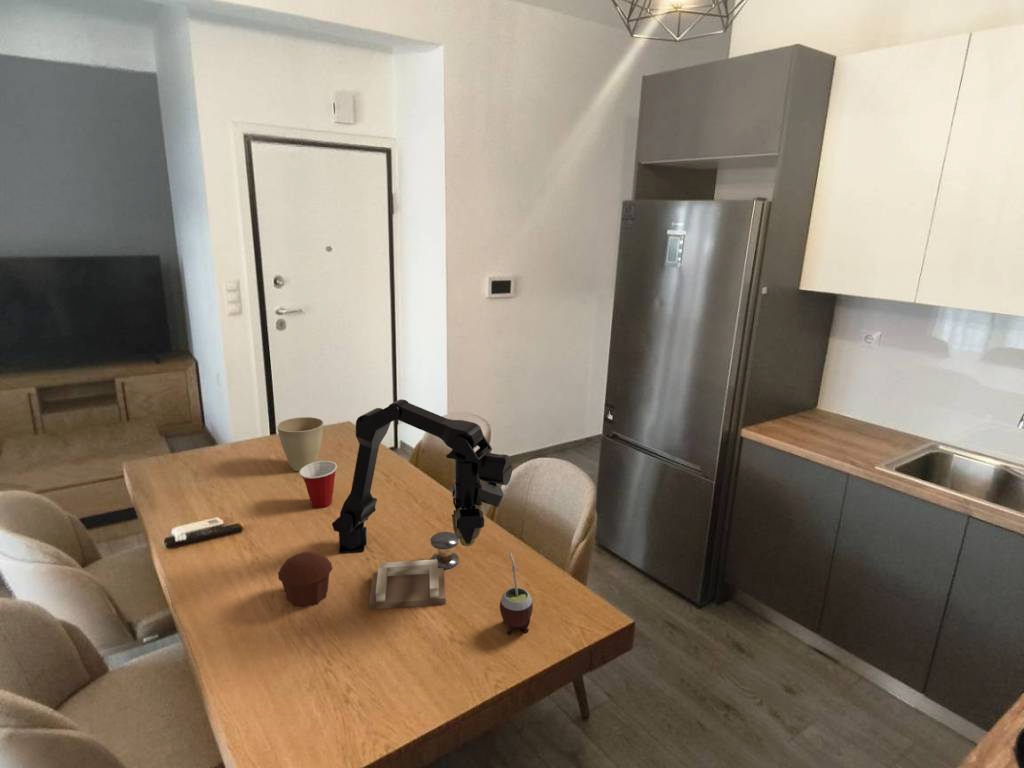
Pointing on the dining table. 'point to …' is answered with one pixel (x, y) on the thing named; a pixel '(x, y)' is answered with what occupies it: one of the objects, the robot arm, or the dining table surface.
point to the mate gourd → (516, 606)
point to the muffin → (305, 578)
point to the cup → (458, 533)
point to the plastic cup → (319, 482)
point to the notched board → (407, 584)
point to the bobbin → (445, 549)
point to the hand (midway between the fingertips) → (467, 535)
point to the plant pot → (301, 440)
